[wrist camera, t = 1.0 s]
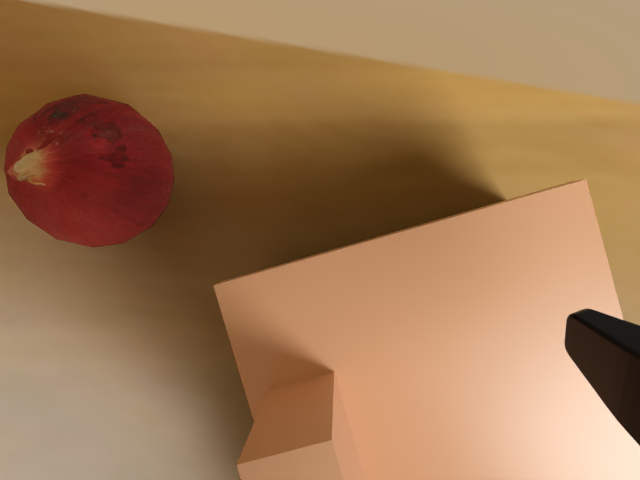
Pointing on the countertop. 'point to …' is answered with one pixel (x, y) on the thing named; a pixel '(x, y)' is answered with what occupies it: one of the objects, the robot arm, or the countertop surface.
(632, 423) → the robot arm
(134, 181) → the onion
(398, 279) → the lid
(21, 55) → the countertop surface
